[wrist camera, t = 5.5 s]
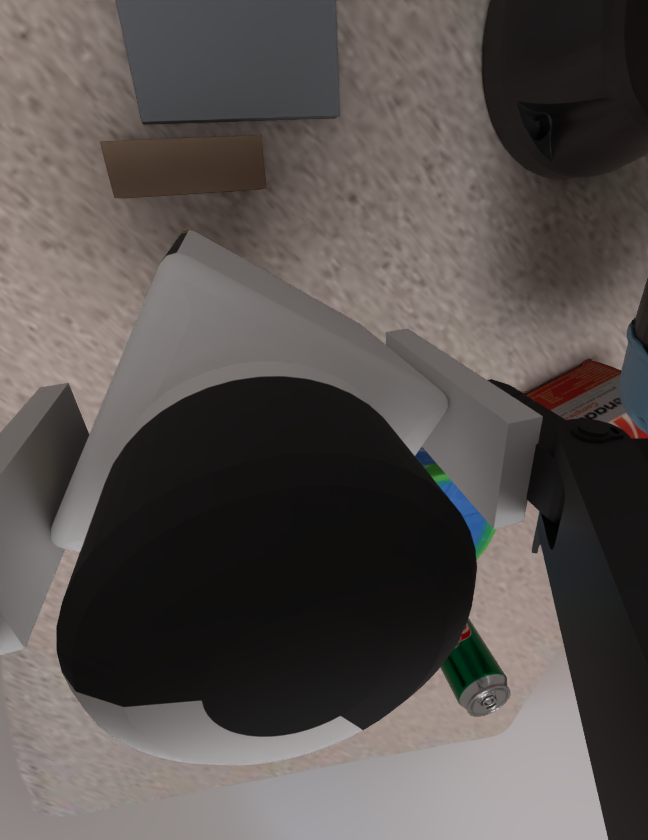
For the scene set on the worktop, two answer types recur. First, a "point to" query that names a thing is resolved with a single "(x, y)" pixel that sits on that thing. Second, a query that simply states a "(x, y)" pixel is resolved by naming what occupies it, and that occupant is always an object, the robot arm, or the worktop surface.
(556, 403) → the medicine box
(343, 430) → the medicine bottle
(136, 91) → the mat
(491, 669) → the soda can
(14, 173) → the worktop surface
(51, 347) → the worktop surface
